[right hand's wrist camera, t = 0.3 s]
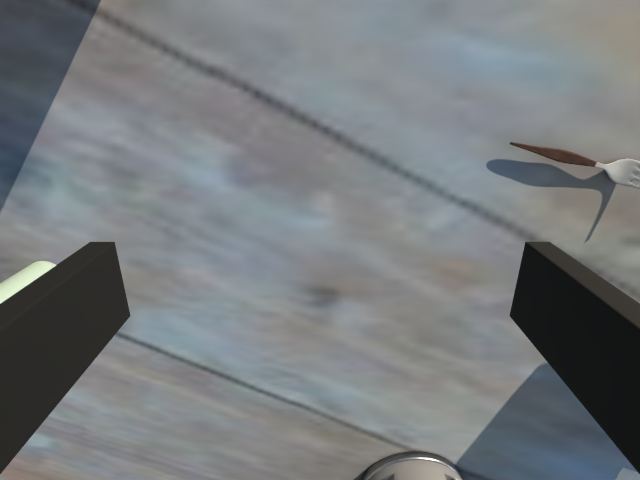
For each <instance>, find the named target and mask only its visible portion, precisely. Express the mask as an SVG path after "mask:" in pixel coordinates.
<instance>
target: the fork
mask: <svg viewBox="0 0 640 480" xmlns="http://www.w3.org/2000/svg"><path fill="white" fill-rule="evenodd" d="M510 144H511V145H514V146H517V147H520V148H523V149H526V150H529V151H531V152H534V153H537V154H540V155H542V156H545V157H547V158H550V159H553V160H556V161H559V162H563V163H569V164H576V165H584V166H592V167H599V168H602V169H604V170H605V171H606V172H607V174H608V176H609V177H610V179H611V180H612V181H613V182H615V183H617V184H620V185H624V186H630V187H634V188H639V189H640V185H637V184H634V183H632V182H631V181H632V180H636V181H640V178H639V177H637V176H635V174H640V169H639V167H640V161H637V160H633V159H622V160H618V161H615V162H613V163H610V164H601V163H598V162H595V161H593V160H590V159H588V158H585V157H583V156H580V155H577V154H575V153H572V152H569V151H565V150H560V149H553V148H545V147H537V146H531V145H525V144H519V143H512V142H510Z"/></svg>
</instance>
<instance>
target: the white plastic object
mask: <svg viewBox="0 0 640 480" xmlns="http://www.w3.org/2000/svg"><path fill="white" fill-rule="evenodd" d="M616 480H640V474H639V473H638V472H635V471H632V470H629V469H626V468H624V467H623V468H622V469H621V471H620V473H619V474H618V476H617V478H616Z"/></svg>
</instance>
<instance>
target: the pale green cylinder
mask: <svg viewBox="0 0 640 480" xmlns="http://www.w3.org/2000/svg"><path fill="white" fill-rule="evenodd" d="M55 266H56V265H55V264H53V263H51V262H47V261H37V262H34V263H32V264H31V265H29V266H28V267H26V268H24V269H23V270H21V271H20V272H18V273H16V274H15V275H13V276H12V277H10V278H8V279H7V280H5V281H3V282H2V283H0V304H1V303H2V302H4V301H5V300H6V299H8V298H9V297H11V296H12V295H14V294H15V293H17V292H18V291H20V290H21V289H23V288H24V287H25V286H27V285H28V284H30V283H31V282H33V281H34V280H36V279H37V278H39V277H40V276H42V275H43V274H44V273H46V272H47V271H49V270H50V269H52V268H53V267H55Z"/></svg>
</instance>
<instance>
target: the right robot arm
mask: <svg viewBox="0 0 640 480" xmlns="http://www.w3.org/2000/svg"><path fill="white" fill-rule="evenodd" d="M129 317H130V312H129V307H128V303H127V298H126V293H125V289H124V284H123V280H122V275H121V270H120V266H119V261H118V256H117V252H116V247H115V242H90V243H88V244H87V245H85V246H84V247H82V248H81V249H79V250H78V251H77V252H75V253H74V254H72V255H71V256H69V257H68V258H66V259H65V260H63V261H62V262H60V263H59V264H58V265H56V266H55V267H53V268H52V269H50V270H49V271H47V272H46V273H44V274H43V275H42V276H40V277H39V278H37V279H36V280H34V281H33V282H31V283H30V284H28V285H27V286H25V287H24V288H23V289H21V290H20V291H18V292H17V293H15V294H14V295H12V296H11V297H9V298H8V299H6V300H5V301H4V302H2V303H1V304H0V474H1V473H2V471H3V470H4V469H5V468H6V466H7V465H8V464H9V463H10V462H11V460H12V459H13V458H14V457H15V456H16V454H17V453H18V452H19V451H20V449H21V448H22V447H23V446H24V445H25V443H26V442H27V441H28V440H29V438H30V437H31V436H32V435H33V434H34V432H35V431H36V430H37V429H38V428H39V426H40V425H41V424H42V423H43V421H44V420H45V419H46V418H47V417H48V415H49V414H50V413H51V412H52V410H53V409H54V408H55V407H56V406H57V404H58V403H59V402H60V401H61V400H62V398H63V397H64V396H65V395H66V393H67V392H68V391H69V390H70V389H71V387H72V386H73V385H74V384H75V382H76V381H77V380H78V379H79V378H80V376H81V375H82V374H83V373H84V372H85V370H86V369H87V368H88V367H89V365H90V364H91V363H92V362H93V361H94V359H95V358H96V357H97V356H98V354H99V353H100V352H101V351H102V350H103V348H104V347H105V346H106V345H107V344H108V342H109V341H110V340H111V339H112V337H113V336H114V335H115V334H116V333H117V331H118V330H119V329H120V328H121V326H122V325H123V324H124V323H125V322H126V320H127V319H128V318H129ZM510 317H511V318H512V319H513V320H514V322H515V323H516V324H517V325H518V326H519V328H520V329H521V330H522V331H523V333H524V334H525V335H526V336H527V337H528V339H529V340H530V341H531V342H532V344H533V345H534V346H535V347H536V348H537V350H538V351H539V352H540V353H541V354H542V356H543V357H544V358H545V359H546V361H547V362H548V363H549V364H550V365H551V367H552V368H553V369H554V370H555V372H556V373H557V374H558V375H559V376H560V378H561V379H562V380H563V381H564V382H565V384H566V385H567V386H568V387H569V389H570V390H571V391H572V392H573V393H574V395H575V396H576V397H577V398H578V400H579V401H580V402H581V403H582V404H583V406H584V407H585V408H586V409H587V410H588V412H589V413H590V414H591V415H592V417H593V418H594V419H595V420H596V421H597V423H598V424H599V425H600V426H601V428H602V429H603V430H604V431H605V432H606V434H607V435H608V436H609V437H610V438H611V440H612V441H613V442H614V443H615V445H616V446H617V447H618V448H619V449H620V451H621V452H622V453H623V454H624V456H625V457H626V458H627V459H628V460H629V462H630V463H631V464H632V465H633V466H634V468H635V469H636V470H637V471H638V473H639V474H640V304H639V303H638V302H636V301H635V300H634V299H632V298H631V297H629V296H628V295H626V294H625V293H623V292H622V291H620V290H619V289H617V288H616V287H615V286H613V285H612V284H610V283H609V282H607V281H606V280H604V279H603V278H601V277H600V276H598V275H597V274H596V273H594V272H593V271H591V270H590V269H588V268H587V267H585V266H584V265H582V264H581V263H580V262H578V261H577V260H575V259H574V258H572V257H571V256H569V255H568V254H566V253H565V252H563V251H562V250H561V249H559V248H558V247H556V246H555V245H553V244H552V243H550V242H525V247H524V252H523V256H522V261H521V266H520V270H519V275H518V279H517V284H516V289H515V293H514V298H513V303H512V307H511V312H510ZM361 480H463V478H462V475H461V473H460V471H459V470H458V468H457V467H456V466H455V465H454V464H453V463H452V462H450V461H449V460H447V459H445V458H443V457H441V456H439V455H436V454H432V453H427V452H404V453H398V454H394V455H391V456H389V457H386V458H384V459H382V460H380V461H378V462H377V463H375V464H374V465H373V466H371V467H370V468H369V469H368V470H367V471H366V473H365V474H364V475H363V477H362V479H361Z"/></svg>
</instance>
